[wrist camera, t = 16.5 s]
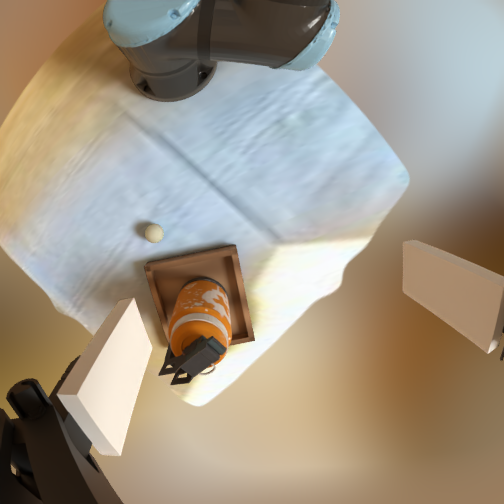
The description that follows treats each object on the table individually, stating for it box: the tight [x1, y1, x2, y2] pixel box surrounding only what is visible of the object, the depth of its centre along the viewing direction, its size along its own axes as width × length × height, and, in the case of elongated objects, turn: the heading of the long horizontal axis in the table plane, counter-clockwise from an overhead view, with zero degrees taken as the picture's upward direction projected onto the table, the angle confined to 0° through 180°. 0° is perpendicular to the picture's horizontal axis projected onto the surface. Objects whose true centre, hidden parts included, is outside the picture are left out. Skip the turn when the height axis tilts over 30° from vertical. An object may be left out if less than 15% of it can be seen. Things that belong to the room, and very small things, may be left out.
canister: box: [158, 277, 232, 385], centre depth 41 cm, size 9×11×20 cm
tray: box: [144, 245, 255, 346], centre depth 50 cm, size 18×16×3 cm
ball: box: [145, 224, 164, 243], centre depth 46 cm, size 3×3×3 cm
